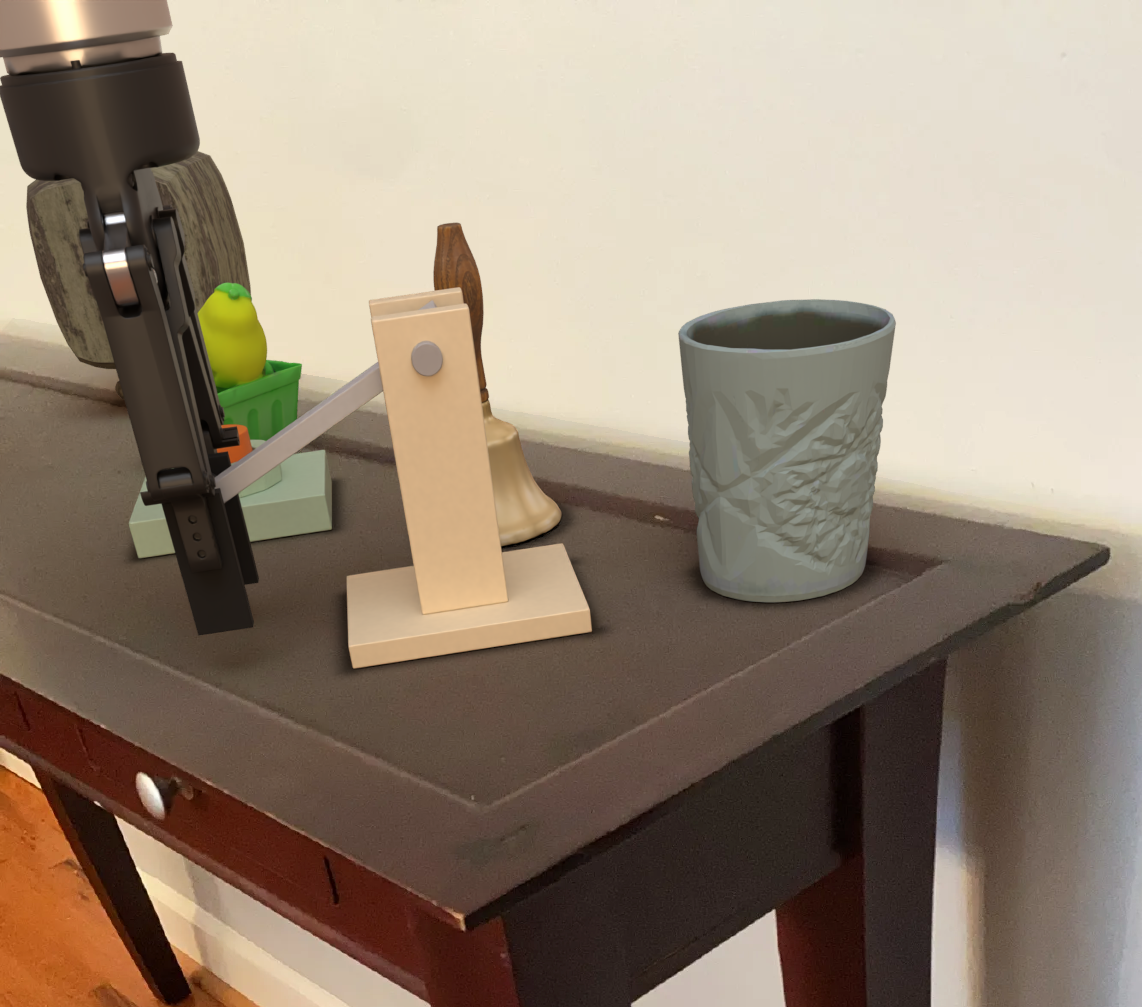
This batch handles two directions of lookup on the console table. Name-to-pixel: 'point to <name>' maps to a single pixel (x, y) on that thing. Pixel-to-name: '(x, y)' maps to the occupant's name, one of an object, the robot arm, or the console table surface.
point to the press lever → (302, 431)
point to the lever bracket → (449, 508)
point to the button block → (256, 505)
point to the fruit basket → (247, 365)
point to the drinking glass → (785, 442)
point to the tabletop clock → (63, 213)
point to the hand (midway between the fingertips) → (229, 604)
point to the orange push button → (243, 448)
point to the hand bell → (513, 484)
